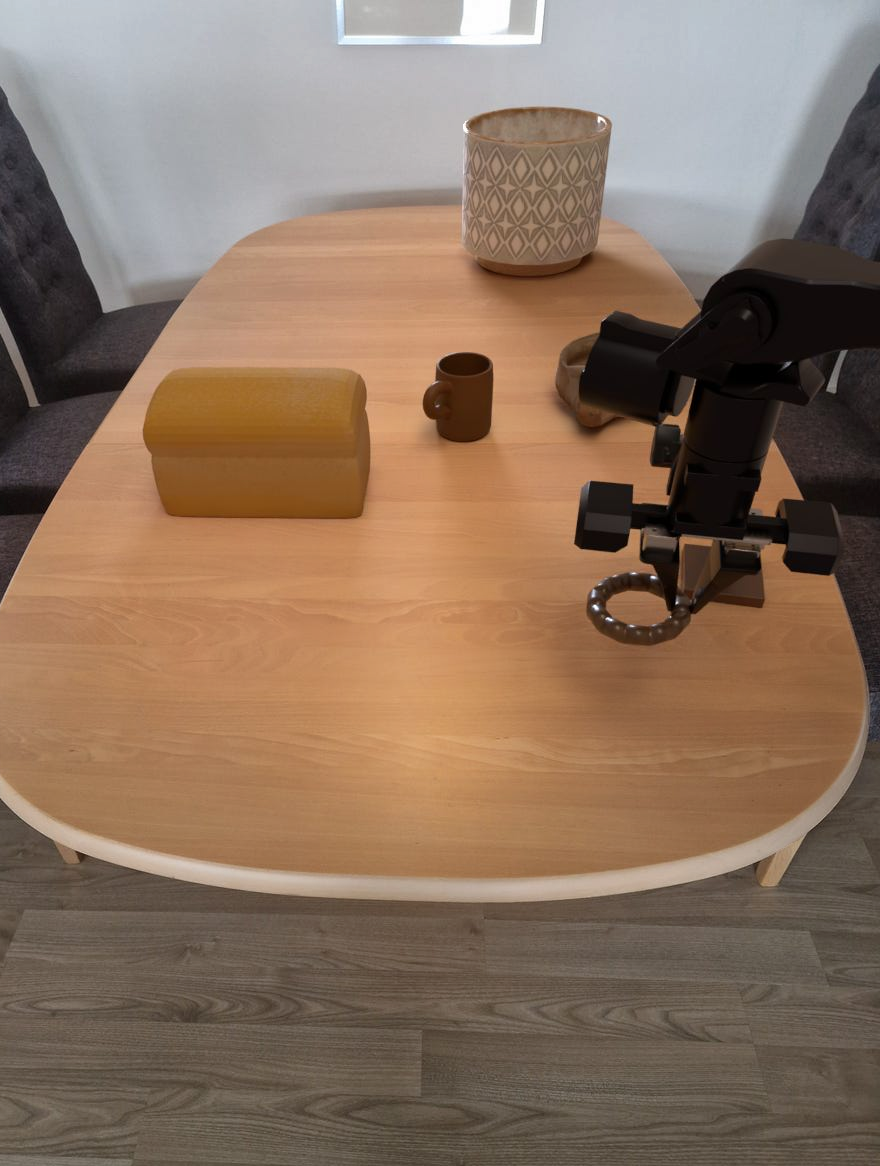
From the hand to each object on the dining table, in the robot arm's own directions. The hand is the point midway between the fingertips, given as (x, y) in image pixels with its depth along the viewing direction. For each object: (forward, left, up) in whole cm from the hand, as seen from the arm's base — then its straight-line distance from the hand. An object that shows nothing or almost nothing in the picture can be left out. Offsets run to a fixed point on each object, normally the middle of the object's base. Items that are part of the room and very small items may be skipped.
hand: (681, 609), depth 69 cm
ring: (+3, 0, 0) cm, 3 cm away
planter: (+27, -112, -12) cm, 116 cm away
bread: (+48, -27, -12) cm, 56 cm away
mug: (+28, -44, -12) cm, 53 cm away
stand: (-6, -20, -12) cm, 24 cm away
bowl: (+9, -54, -12) cm, 56 cm away
